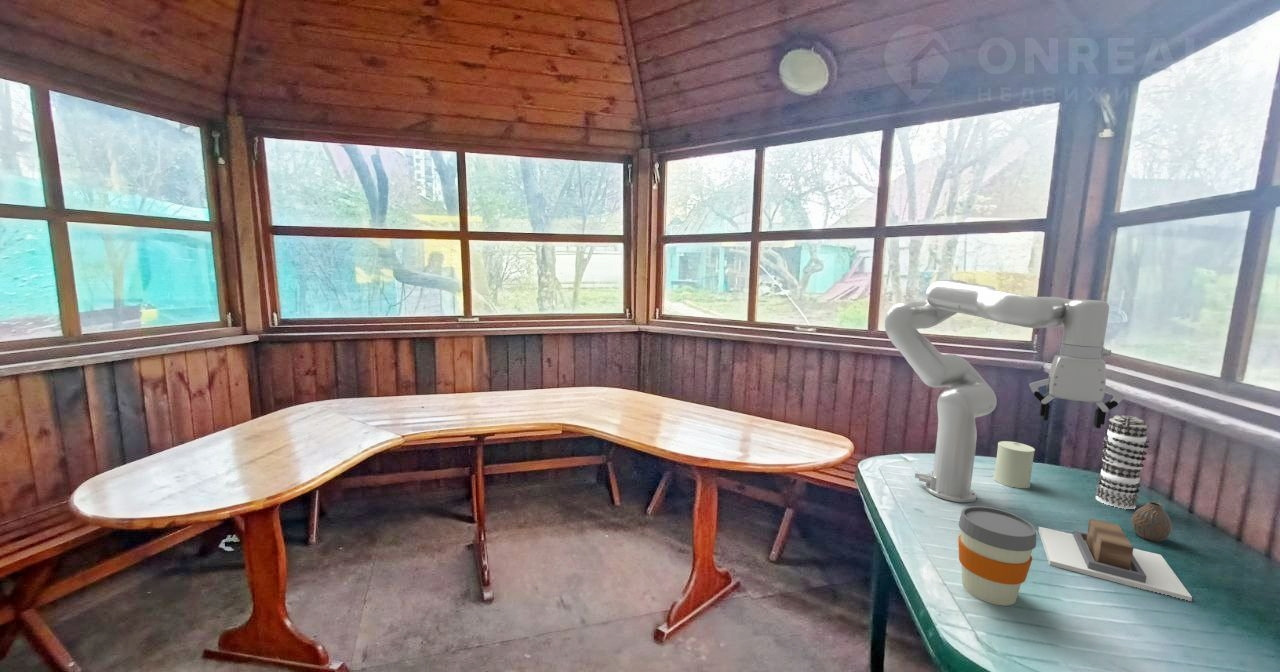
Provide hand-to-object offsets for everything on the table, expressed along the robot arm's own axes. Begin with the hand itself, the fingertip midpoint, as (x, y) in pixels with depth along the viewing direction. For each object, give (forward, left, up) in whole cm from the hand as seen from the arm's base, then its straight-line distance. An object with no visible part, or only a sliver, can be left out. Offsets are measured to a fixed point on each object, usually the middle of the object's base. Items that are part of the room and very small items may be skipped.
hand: (1070, 422), depth 121 cm
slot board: (+8, -9, -28) cm, 31 cm away
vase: (+20, +12, -28) cm, 37 cm away
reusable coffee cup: (-15, -37, -28) cm, 49 cm away
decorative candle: (+18, +33, -28) cm, 47 cm away
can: (-6, +33, -28) cm, 44 cm away
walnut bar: (+8, -9, -27) cm, 30 cm away
